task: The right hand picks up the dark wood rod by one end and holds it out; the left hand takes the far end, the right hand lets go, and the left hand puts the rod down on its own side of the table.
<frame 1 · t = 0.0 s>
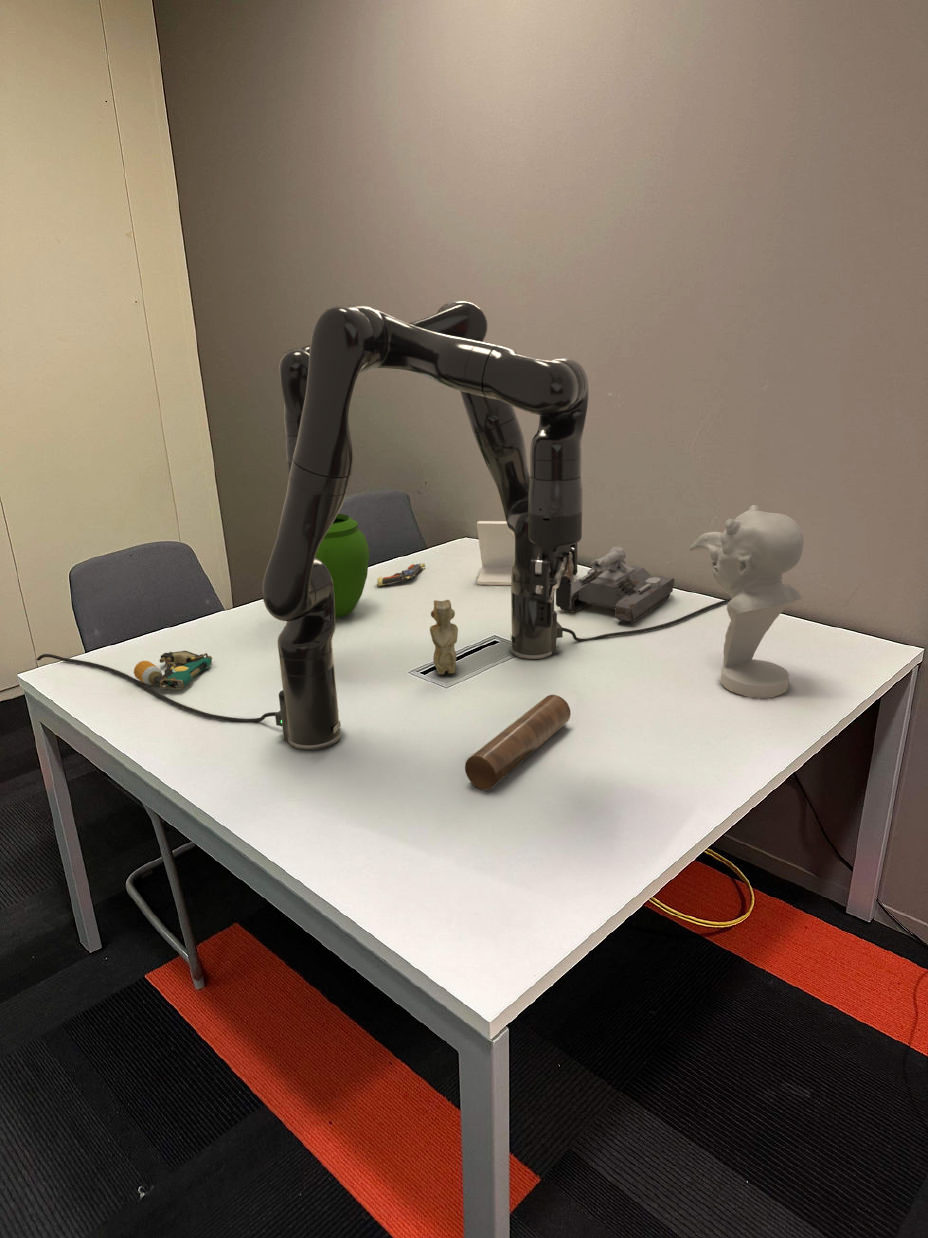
left hand: (554, 616, 125), 29 cm above the table, tool pointing down, fingers open, 8 cm apart
right hand: (314, 539, 170), 29 cm above the table, tool pointing down, fingers open, 8 cm apart
toy: (615, 605, 214), on the table
vase: (334, 614, 214), on the table
rod: (520, 754, 146), on the table
sculpture: (445, 671, 180), on the table
spray gun: (177, 676, 181), on the table
bust sculpture: (734, 680, 171), on the table
tablet stand: (525, 575, 239), on the table
toy gun: (401, 577, 240), on the table
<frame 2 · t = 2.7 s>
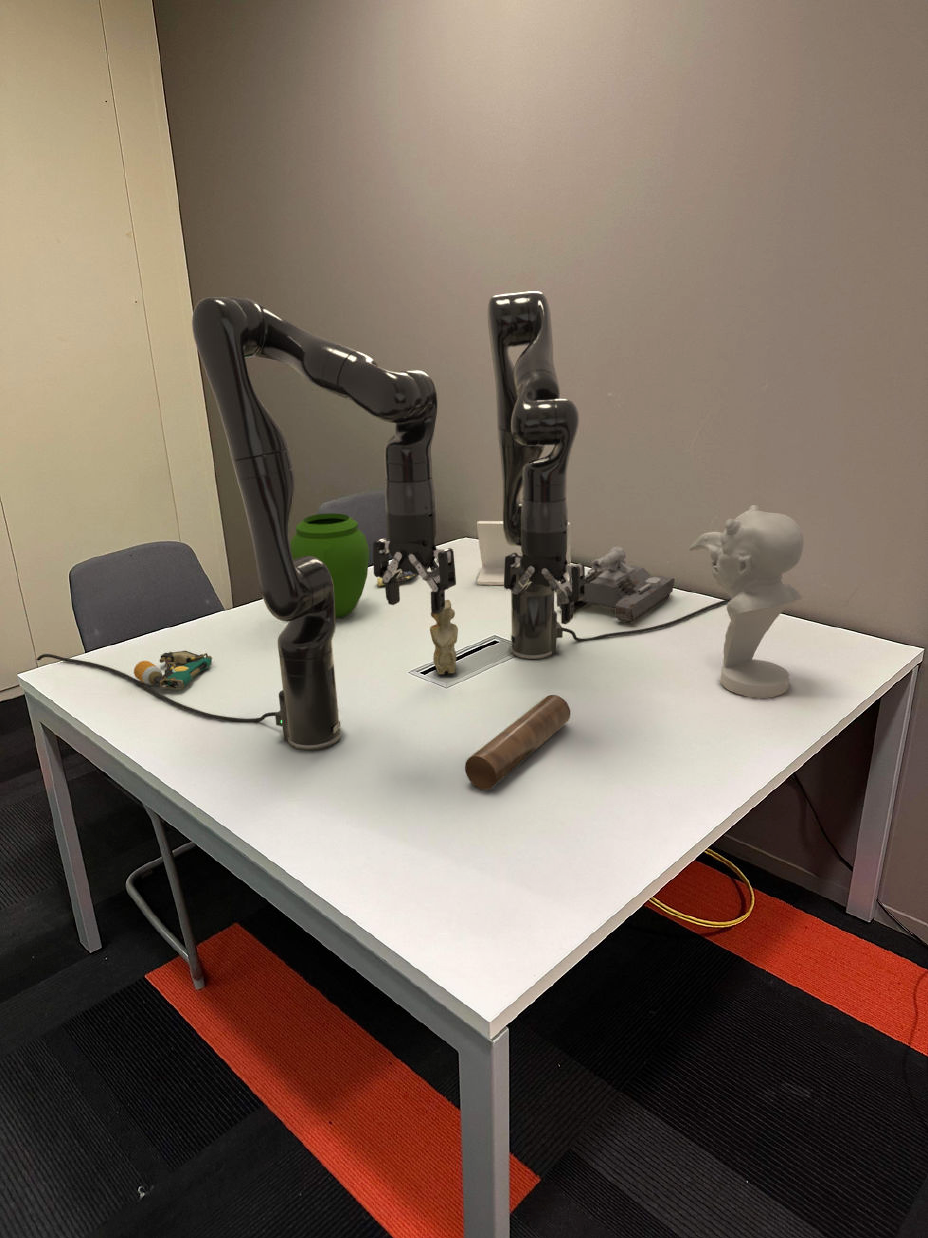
left hand: (415, 608, 135), 28 cm above the table, tool pointing down, fingers open, 8 cm apart
right hand: (543, 618, 145), 22 cm above the table, tool pointing down, fingers open, 8 cm apart
nothing on the table moved.
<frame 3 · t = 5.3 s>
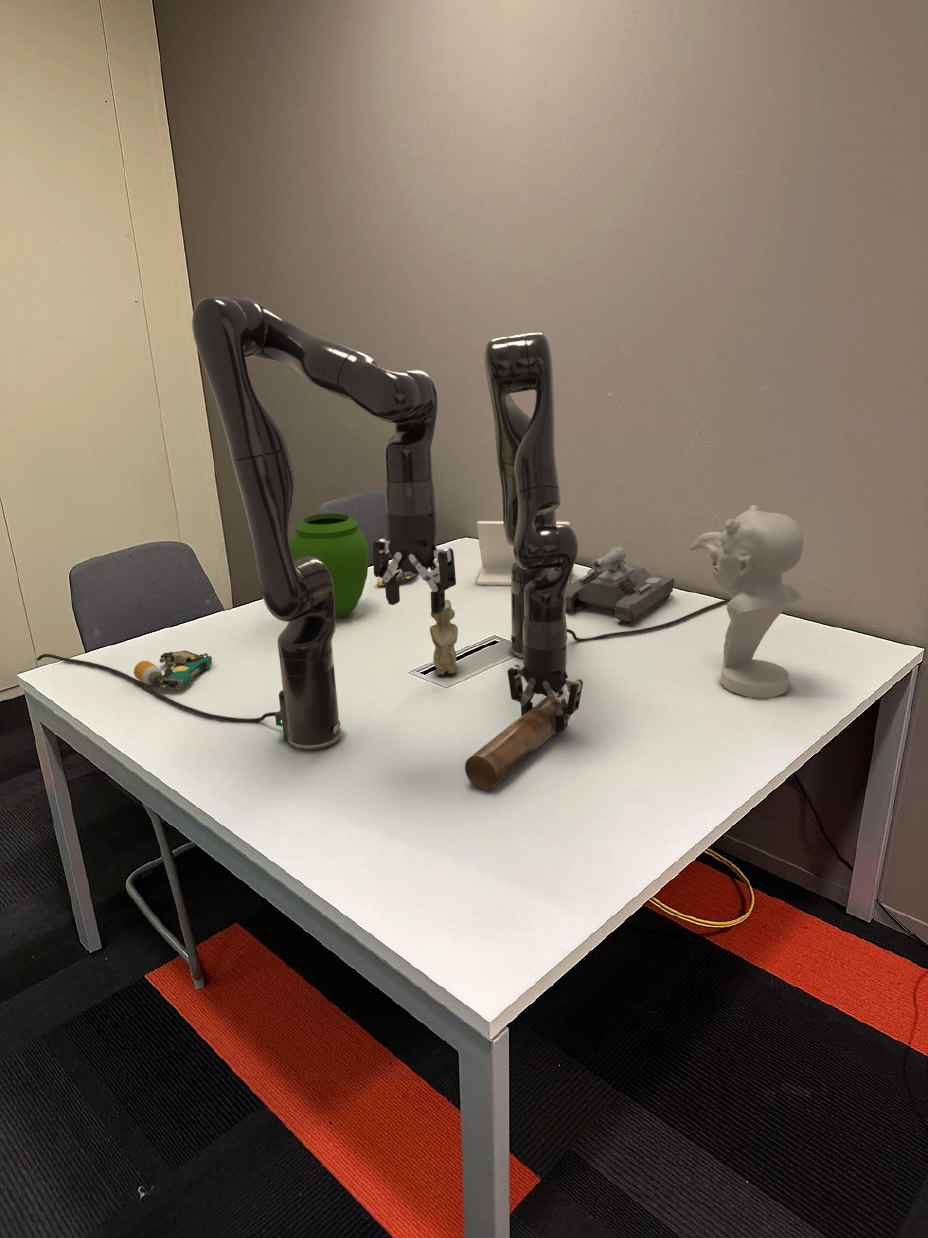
left hand: (415, 608, 135), 28 cm above the table, tool pointing down, fingers open, 8 cm apart
right hand: (544, 726, 152), 2 cm above the table, tool pointing down, fingers closed on rod, 6 cm apart
rod: (520, 754, 146), on the table, touching right hand
everything else where it was.
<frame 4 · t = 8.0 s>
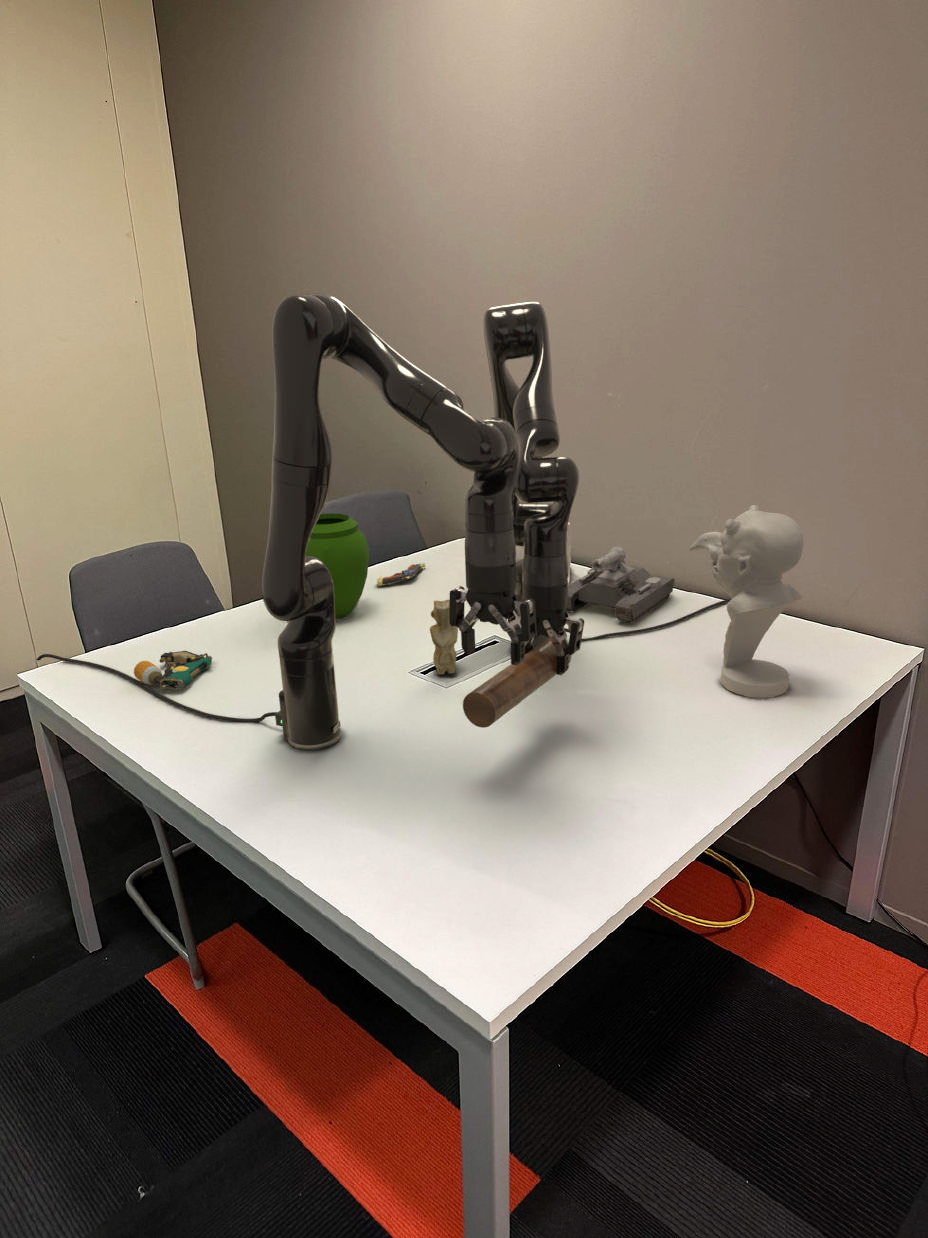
left hand: (492, 658, 132), 21 cm above the table, tool pointing down, fingers open, 8 cm apart
right hand: (544, 669, 148), 13 cm above the table, tool pointing down, fingers closed on rod, 6 cm apart
rod: (520, 695, 142), point 11 cm above the table, touching right hand
everything else where it was.
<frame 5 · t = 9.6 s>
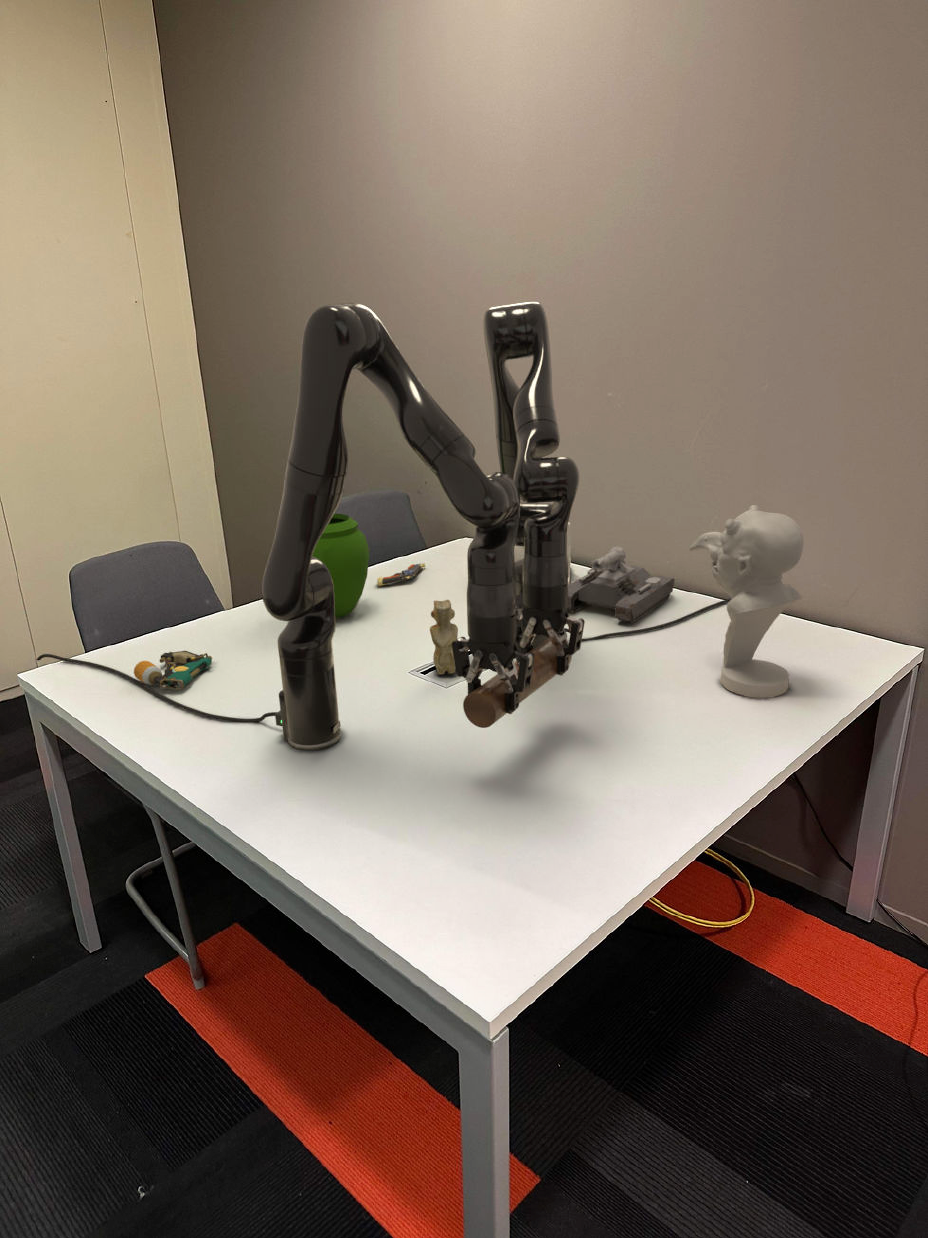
left hand: (493, 706, 135), 13 cm above the table, tool pointing down, fingers closed on rod, 6 cm apart
right hand: (544, 669, 148), 13 cm above the table, tool pointing down, fingers closed on rod, 6 cm apart
rod: (520, 695, 142), point 11 cm above the table, touching right hand, left hand
everything else where it was.
when the right hand's fingers open (13 cm above the table, at t = 10.7 s): rod stays where it is, held by the left hand.
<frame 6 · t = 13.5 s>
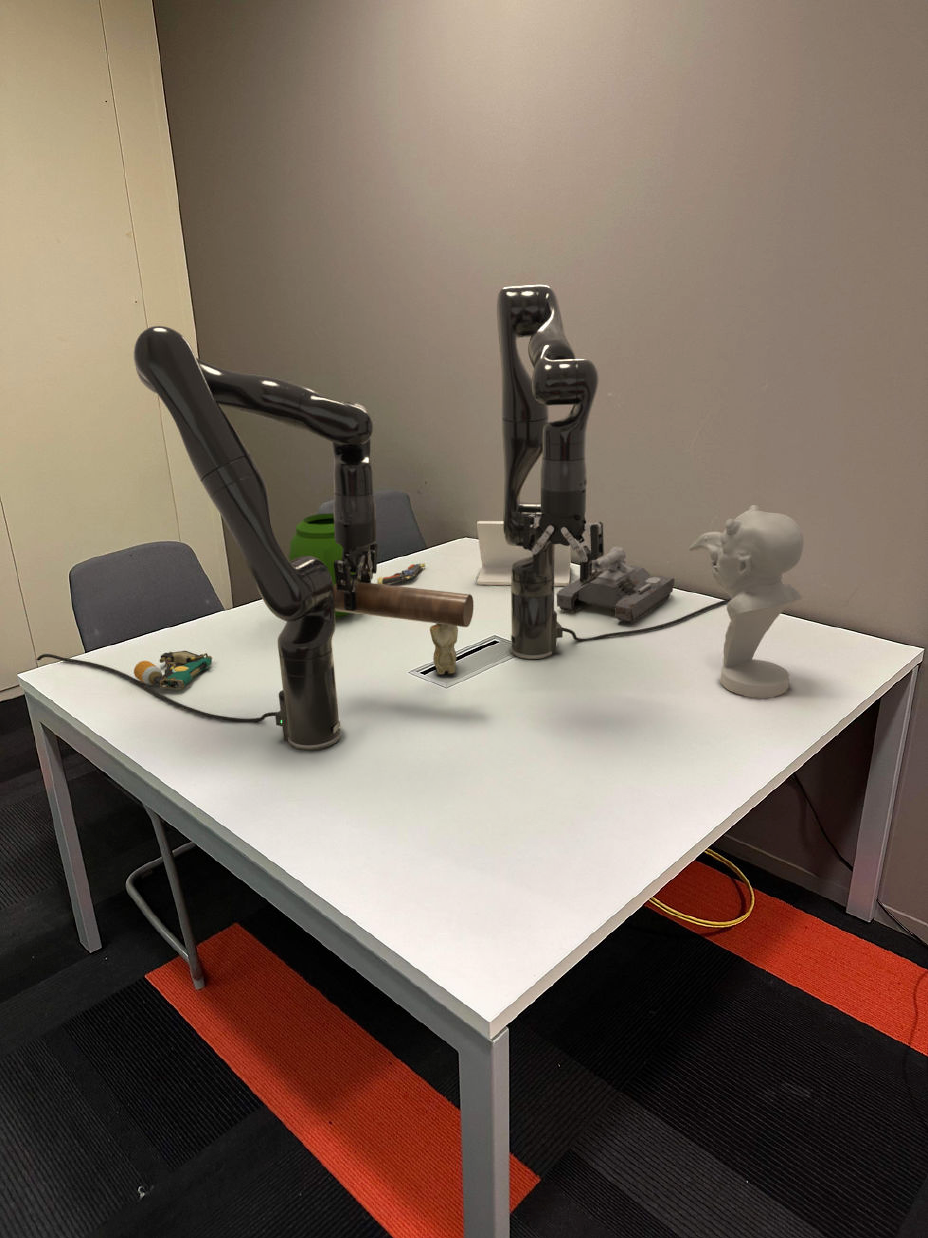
left hand: (358, 604, 159), 20 cm above the table, tool pointing down, fingers closed on rod, 6 cm apart
right hand: (562, 577, 147), 28 cm above the table, tool pointing down, fingers open, 8 cm apart
rod: (402, 617, 158), point 18 cm above the table, touching left hand
everything else where it was.
when the left hand's fingers open (3 cm above the table, at t = 17.4 s): rod drops 2 cm, on the table.
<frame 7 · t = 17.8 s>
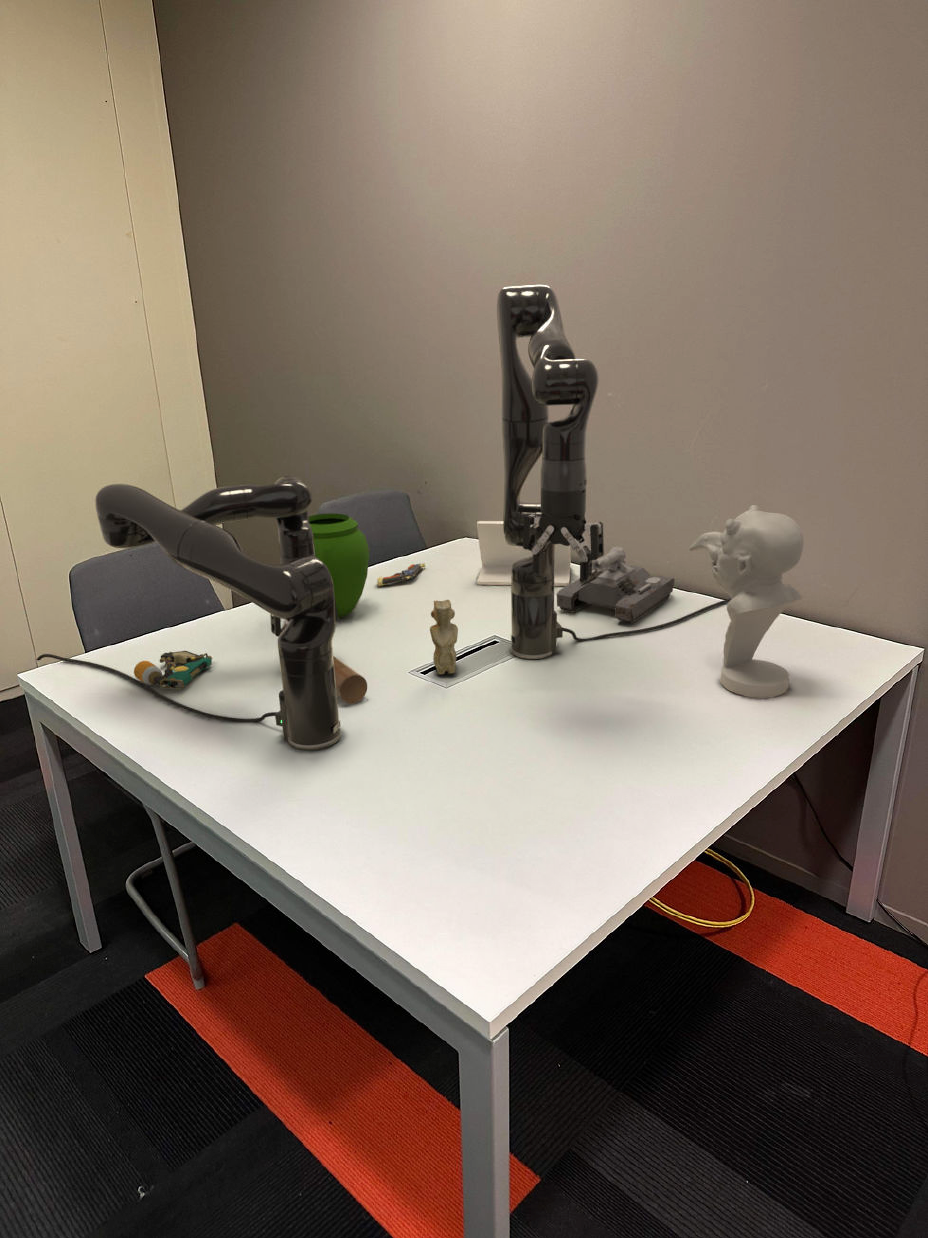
left hand: (307, 647, 182), 5 cm above the table, tool pointing down, fingers open, 8 cm apart
right hand: (562, 577, 147), 28 cm above the table, tool pointing down, fingers open, 8 cm apart
rod: (326, 681, 176), on the table
everything else where it was.
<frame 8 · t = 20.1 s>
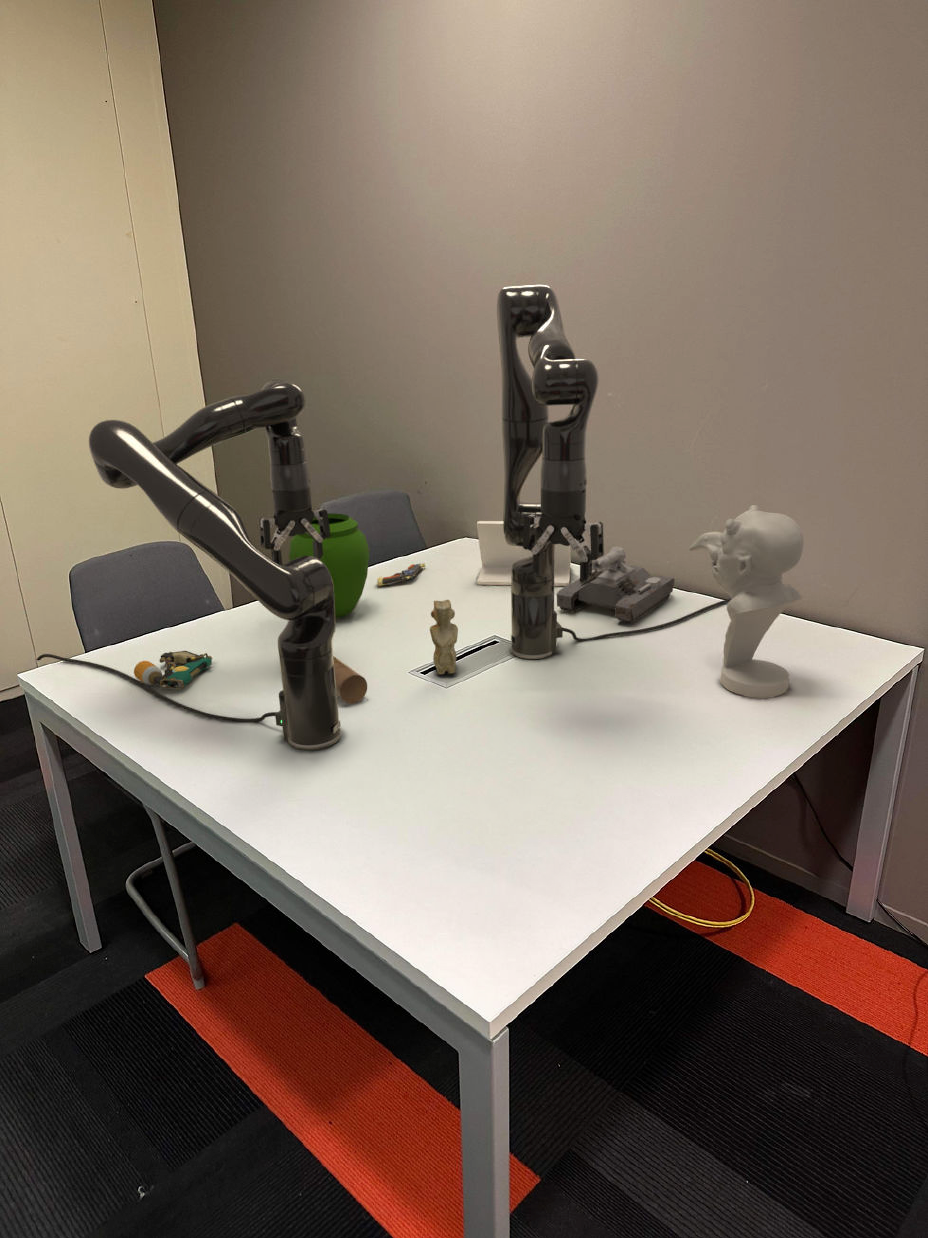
left hand: (298, 563, 175), 23 cm above the table, tool pointing down, fingers open, 8 cm apart
right hand: (562, 577, 147), 28 cm above the table, tool pointing down, fingers open, 8 cm apart
nothing on the table moved.
at the end: rod inside the target area (8.8 cm from its centre), on the table; the left hand is holding nothing; the right hand is holding nothing; rod at rest at the end (0.0 cm/s) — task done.
